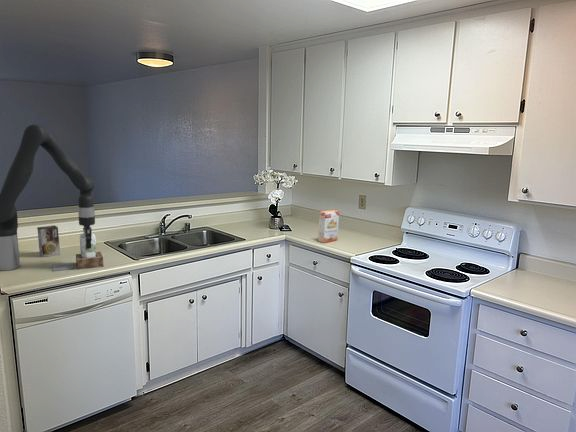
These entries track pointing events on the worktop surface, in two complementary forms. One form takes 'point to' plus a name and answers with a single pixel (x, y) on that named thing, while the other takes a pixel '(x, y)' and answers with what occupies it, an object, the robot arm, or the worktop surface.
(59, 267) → the coaster
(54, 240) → the coffee box
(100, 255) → the box
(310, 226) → the worktop surface
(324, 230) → the cracker box
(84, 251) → the syrup box
